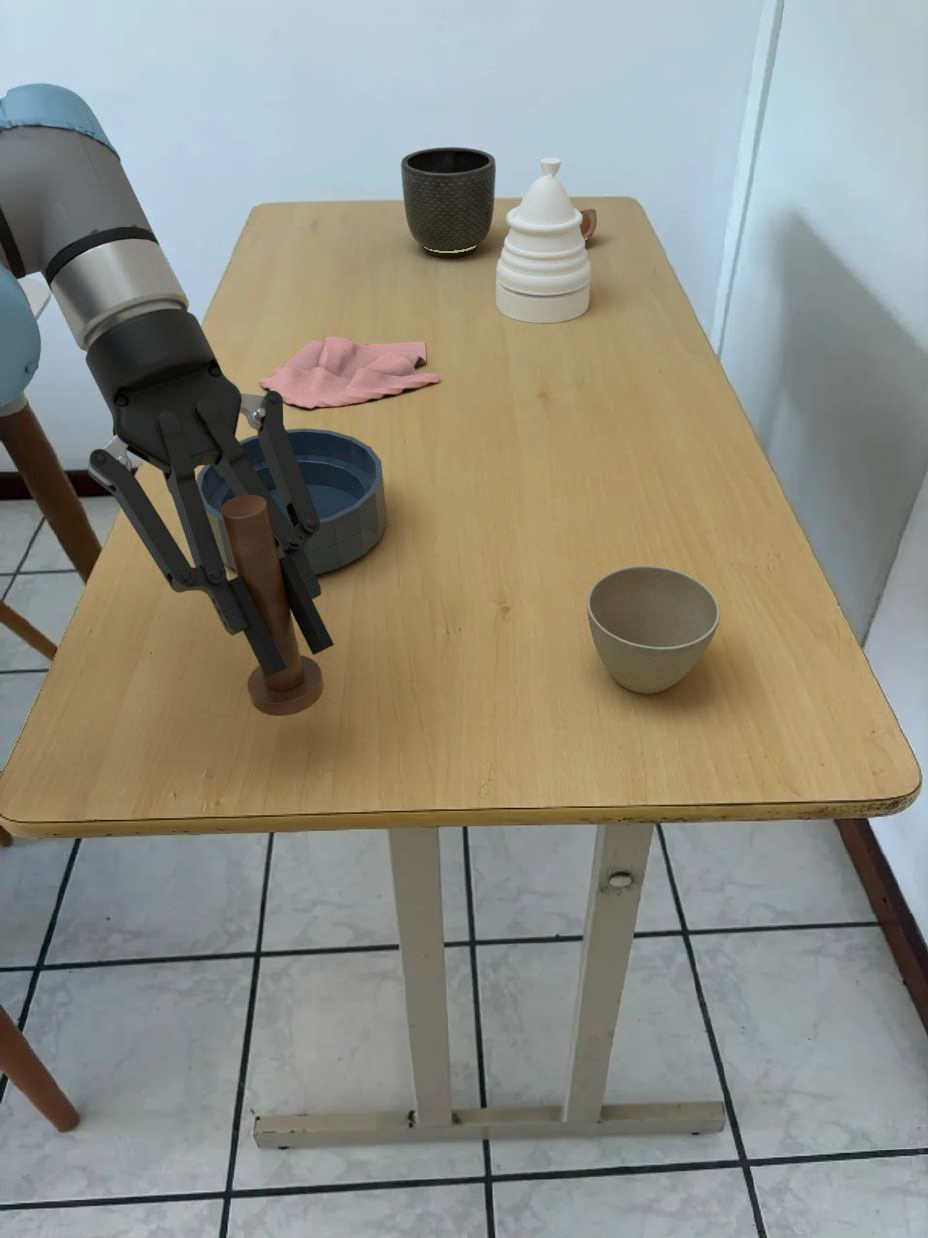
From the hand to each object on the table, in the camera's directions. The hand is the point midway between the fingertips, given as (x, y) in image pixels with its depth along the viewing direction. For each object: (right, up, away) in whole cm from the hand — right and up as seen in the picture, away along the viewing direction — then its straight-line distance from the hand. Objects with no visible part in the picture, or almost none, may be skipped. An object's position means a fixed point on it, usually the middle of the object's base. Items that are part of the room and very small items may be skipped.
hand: (299, 660), depth 62 cm
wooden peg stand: (-2, -2, +6) cm, 6 cm away
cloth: (-2, +33, +56) cm, 65 cm away
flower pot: (+25, -2, +15) cm, 29 cm away
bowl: (-5, +12, +31) cm, 33 cm away
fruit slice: (+27, +61, +88) cm, 110 cm away
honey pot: (+22, +46, +70) cm, 87 cm away
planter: (+9, +60, +87) cm, 106 cm away
